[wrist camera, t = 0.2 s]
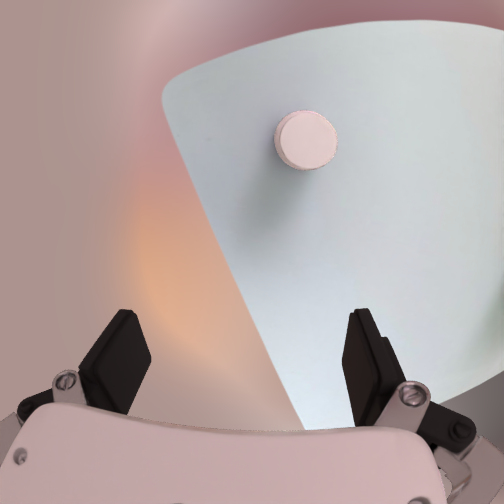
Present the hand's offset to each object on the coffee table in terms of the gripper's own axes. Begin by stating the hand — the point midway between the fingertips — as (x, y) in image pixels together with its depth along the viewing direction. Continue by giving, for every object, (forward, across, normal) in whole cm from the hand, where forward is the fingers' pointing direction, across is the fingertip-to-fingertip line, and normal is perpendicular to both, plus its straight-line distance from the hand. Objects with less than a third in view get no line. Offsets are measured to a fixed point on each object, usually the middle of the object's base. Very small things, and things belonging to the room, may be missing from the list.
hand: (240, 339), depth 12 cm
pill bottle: (+19, -4, -8) cm, 21 cm away
